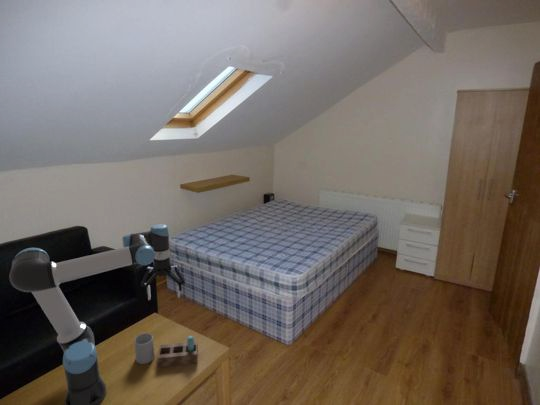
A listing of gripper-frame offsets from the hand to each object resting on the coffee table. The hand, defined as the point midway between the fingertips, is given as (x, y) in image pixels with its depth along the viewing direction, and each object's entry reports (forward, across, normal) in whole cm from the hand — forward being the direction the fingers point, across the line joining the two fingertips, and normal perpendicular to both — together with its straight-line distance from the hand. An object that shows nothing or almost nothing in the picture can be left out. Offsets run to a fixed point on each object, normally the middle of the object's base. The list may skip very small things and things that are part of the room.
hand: (164, 297), depth 162 cm
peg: (+29, +12, -8) cm, 32 cm away
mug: (+29, -10, -4) cm, 31 cm away
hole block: (+29, +6, -8) cm, 31 cm away
